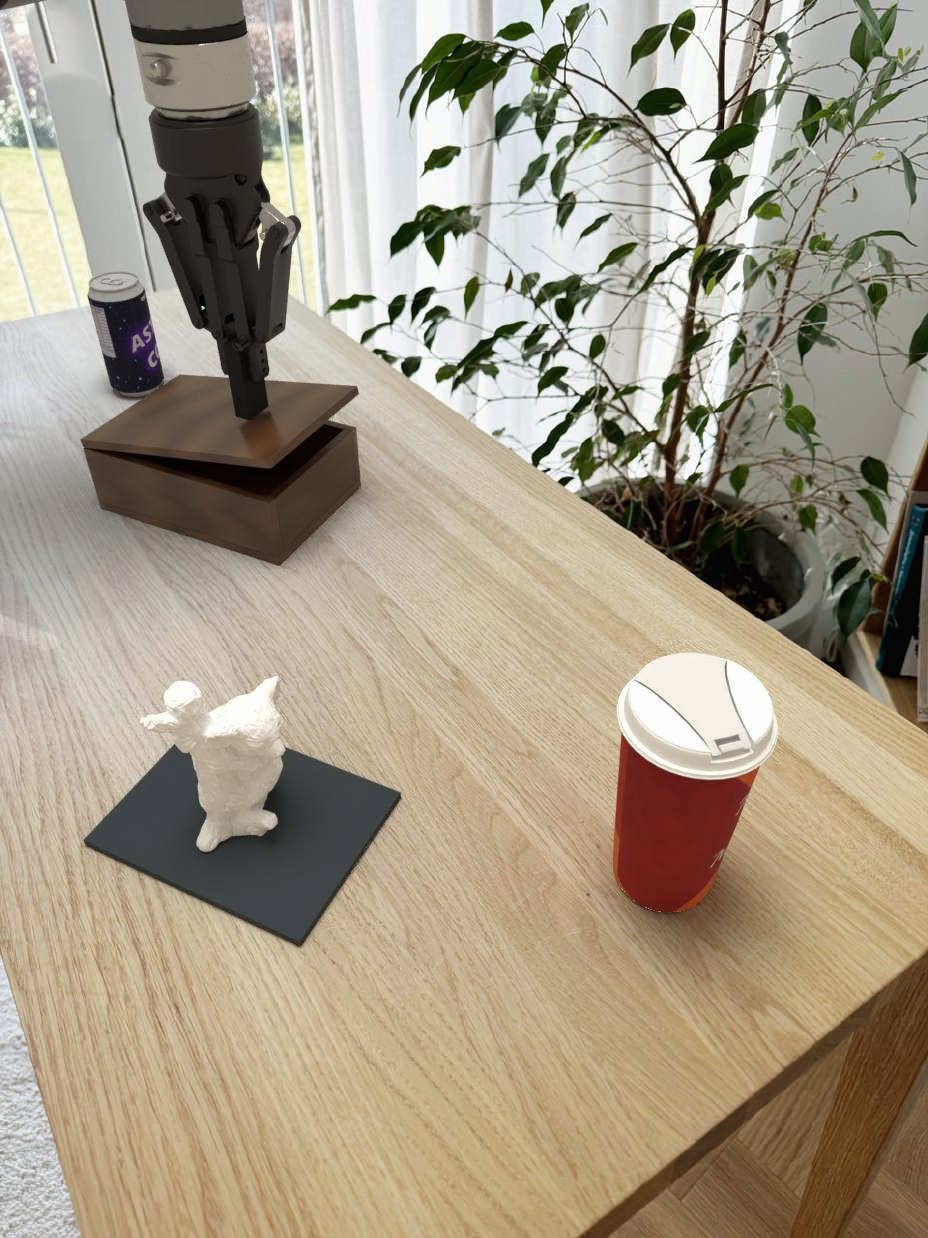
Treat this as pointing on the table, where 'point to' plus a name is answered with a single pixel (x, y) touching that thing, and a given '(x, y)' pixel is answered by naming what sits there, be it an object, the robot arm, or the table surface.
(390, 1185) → the table surface
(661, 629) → the table surface
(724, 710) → the coffee cup
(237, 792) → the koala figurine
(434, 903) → the table surface
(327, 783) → the mat
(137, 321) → the beverage can
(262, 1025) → the table surface
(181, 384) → the chest lid
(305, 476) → the chest
